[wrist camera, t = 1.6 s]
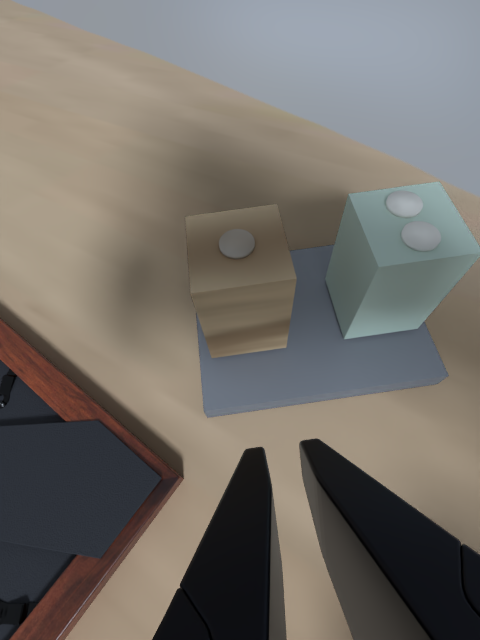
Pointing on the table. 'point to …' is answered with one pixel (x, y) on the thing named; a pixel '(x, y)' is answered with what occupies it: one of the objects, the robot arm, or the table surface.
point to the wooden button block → (241, 279)
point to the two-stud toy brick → (396, 258)
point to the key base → (316, 355)
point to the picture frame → (64, 494)
